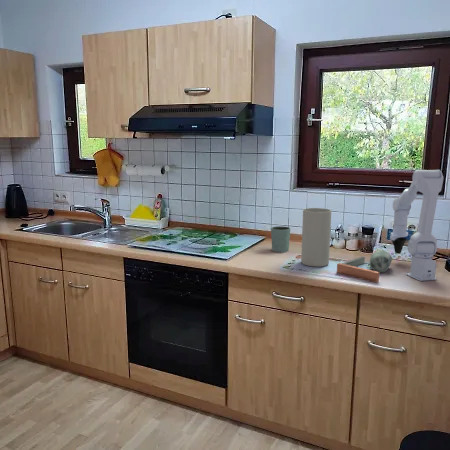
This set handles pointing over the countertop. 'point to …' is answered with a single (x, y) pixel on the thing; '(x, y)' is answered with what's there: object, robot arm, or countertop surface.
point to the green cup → (280, 238)
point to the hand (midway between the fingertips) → (397, 253)
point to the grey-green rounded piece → (380, 261)
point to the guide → (357, 270)
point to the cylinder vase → (316, 237)
